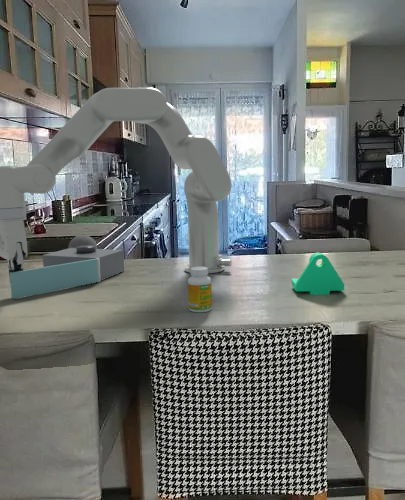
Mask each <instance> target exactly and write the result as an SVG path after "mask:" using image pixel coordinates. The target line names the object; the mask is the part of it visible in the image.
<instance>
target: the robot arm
mask: <svg viewBox="0 0 405 500" xmlns="http://www.w3.org/2000/svg"><path fill="white" fill-rule="evenodd" d="M113 122H134V123H136V124H140V125H141V124H142V125H143V124H144V125H148V126H150V127H151V128H152V129H154V131H156V133H157V134H158V136H159V137H160V140H162V142H163V144H164V146H165V148H166V150H167V152H168V154H169V155H170V157H171V159H172V161H173V163H174V164H175V165H176V167H178V168H179V169H180V170H191V172H190V173H188V175H187V176H186V178H185V180H184V184H183V186H184V195H185V196H184V197H185V201H186V208H187V228H188V229H187V232H188V233H187V234H188V235H187V236H188V258H189V259H188V262H189V264H187V265H185V266H184V271H185V272H186V273H189V274H191V273H190V268H192V267H207V268H208V275H209V274H215V273H220V272H223V271H224V270H225V267H232V264H233V263H232V260H231V259H229V258H228V259H227V258H226V259H224V258H223V254H220V240H219V238H220V236H219V235H220V233H219V232H220V231H219V230H220V229H219V209H218V205H217V202H221V201H223V200H225V199H226V198H228V197H229V195H230V194H231V190H232V179H231V177H230V173H229V172H228V170H227V168H226V166H225V164H224V162H223V160H222V158H221V155H220V154H219V151H218V149H217V148H216V146H215V145H214V143H213V142H212V141H211V140H210V139H209V138H207V137H205V136H203V135H200V134H199V135H198V134H197V135H194V134H193V133H192V132H191V130H190V129H189V126H188V124H187V123H186V121H185V119H184V117H182V114H180V112H179V111H178V110H177V109H176V108H175V107H174V106H173V105H171V104H170V103H168V99H167V97H166V96H165V94H164V93H163V92H162V91H160V90H159V89H157V88H154V87H106V88H102V89H101V90H98V92H95V93H93V94H92V95H91V96H90V97H89V98H88V99H87V100H86V101H85V102H84V104H83V105H82V106H81V107H80V108H79V109H78V110H76V112H75V113H73V116H71V117H70V119H68V121H66V123H65V124H64V125H63V126H62V127H61V128H60V129H59V130H58V131H57V133H56V134H55V135H53V137H52V138H51V139H50V141H48V143H47V144H45V146H44V147H43V148H42V149H41V150H40V151H39V152H38V153H37V154H35V156H33V158H32V160H31V161H29V163H27V164H26V165H24V166H18V165H0V257H1V258H3V259H5V260H7V266H8V275H9V273H11V272H17V271H23V270H24V259H26V258H27V257H28V243H27V233H26V228H25V222H24V221H26V220H27V210H26V209H27V208H26V197H25V194H28V193H29V194H39V195H40V194H41V195H42V194H46V193H49V192H50V191H52V190H53V188H54V187H55V186H56V183H57V181H56V180H57V175H58V174H59V173H60V172H61V171H62V170H63V169H64V168H65V167H66V166H68V165H69V163H71V162H72V161H73V160H75V159H77V158H79V157H81V156H82V155H83V154H85V153H86V152H87V151H88V150H89V149H90V147H91V146H92V145H93V144H94V143H95V142H96V141H97V139H98V138H99V137H100V136H101V135H102V134H103V133H104V132H105V131H106V130H107V129H108V127H110V125H112V123H113ZM9 279H10V275H9Z"/></svg>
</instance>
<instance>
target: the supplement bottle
mask: <svg viewBox="0 0 405 500" xmlns="http://www.w3.org/2000/svg"><path fill="white" fill-rule="evenodd" d="M189 274H190V275H191V276H190V277H188V279H187V296H188V297H187V299H188V300H187V301H188V302H187V304H188V310H189V311H190V312H192V313H207V312H210V311H211V310H212V309H213V299H212V297H213V295H212V294H213V293H212V292H213V291H212V290H213V289H212V278H211V277H210V276H208V275H209V274H208V268H207V267H192V268H190V273H189Z"/></svg>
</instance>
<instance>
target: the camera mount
mask: <svg viewBox="0 0 405 500" xmlns="http://www.w3.org/2000/svg"><path fill="white" fill-rule="evenodd" d="M318 260H321V263H319V264H317V262H318ZM291 286H292V288H293V289H294V291H296V292H308V293H309V294H310V295H312V294H314V295H330V292H332V291H345V283H344V282H343V280H342V279H341V277H340V275H339V273H338V272H337V270H336V268H335V267H334V265H333V264H332V262H331V260H330V259H329V257H327V256H326V255H325V254H323V253H322V252H314V253H312V254H311V255H310V257H309V259H308V263H307V265H306V267H305V268H304V270H303V271H302V273H301V274H300V275H299V278H296V277H295V278H291Z"/></svg>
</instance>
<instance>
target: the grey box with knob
mask: <svg viewBox="0 0 405 500" xmlns="http://www.w3.org/2000/svg"><path fill="white" fill-rule="evenodd" d="M96 258H99V261H100V276H101V280H102V279H104V278H107V277H110V276H112V275H115V274H117V273H120V272H122V273H124V272H125V260H124V250H123V249H110V248H109V249H108V248H107V249H106V248H105V249H104V248H97V249H96V246H94V245H84V246H78V247H76V248H65V249H62V250H57V251H54V252H50V253H46V254H42V265H43V267H48V266H54V265H60V264H66V263H73V262H79V261H85V260H91V259H96ZM123 271H124V272H123ZM120 274H121V273H120ZM117 275H118V274H117ZM115 276H116V275H115ZM112 277H113V276H112ZM110 278H111V277H110ZM107 279H108V278H107ZM102 281H103V280H102Z"/></svg>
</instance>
